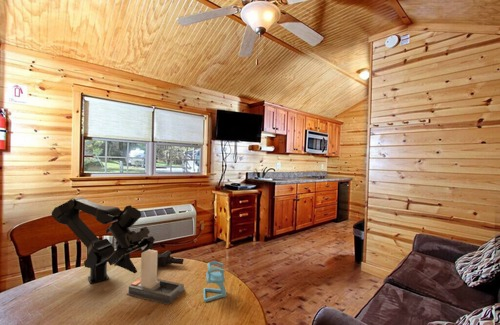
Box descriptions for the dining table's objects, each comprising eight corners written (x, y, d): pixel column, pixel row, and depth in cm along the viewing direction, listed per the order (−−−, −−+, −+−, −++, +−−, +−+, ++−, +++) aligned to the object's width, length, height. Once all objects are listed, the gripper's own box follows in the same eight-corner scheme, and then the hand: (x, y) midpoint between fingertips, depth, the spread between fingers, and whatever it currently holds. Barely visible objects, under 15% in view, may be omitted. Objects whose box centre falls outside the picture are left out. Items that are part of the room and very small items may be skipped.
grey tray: (126, 294, 88) (126, 286, 88) (146, 281, 97) (146, 274, 97) (168, 304, 82) (168, 296, 82) (184, 290, 92) (185, 282, 92)
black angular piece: (191, 249, 122) (163, 247, 123) (175, 261, 103) (142, 259, 104) (191, 260, 121) (162, 258, 123) (174, 274, 102) (141, 271, 104)
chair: (227, 300, 86) (228, 267, 86) (203, 302, 85) (205, 268, 84) (224, 288, 94) (225, 258, 94) (203, 290, 92) (204, 259, 92)
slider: (137, 290, 89) (137, 253, 89) (147, 283, 94) (148, 248, 94) (150, 293, 87) (151, 255, 87) (160, 286, 93) (160, 250, 92)
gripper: (115, 228, 84) (139, 265, 81) (152, 216, 102) (173, 246, 98) (97, 247, 86) (120, 283, 83) (136, 232, 104) (156, 262, 101)
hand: (145, 267), depth 91 cm, fingers open, 9 cm apart
